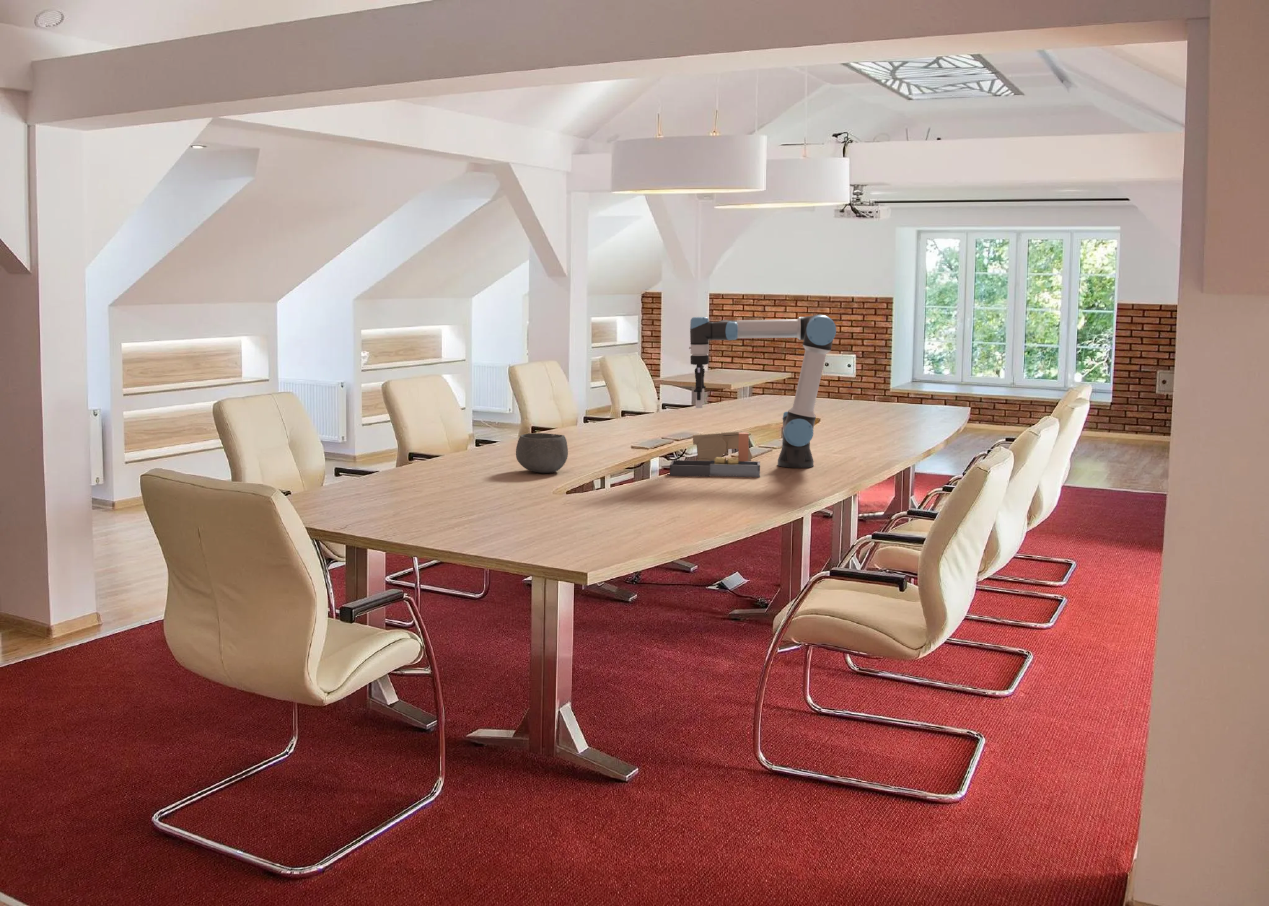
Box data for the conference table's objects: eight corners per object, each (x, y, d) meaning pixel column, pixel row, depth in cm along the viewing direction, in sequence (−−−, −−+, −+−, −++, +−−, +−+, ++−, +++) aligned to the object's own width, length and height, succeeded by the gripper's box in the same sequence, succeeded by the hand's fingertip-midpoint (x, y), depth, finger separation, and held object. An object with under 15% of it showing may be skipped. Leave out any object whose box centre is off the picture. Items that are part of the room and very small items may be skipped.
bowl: (506, 473, 490) (506, 436, 487) (532, 466, 508) (532, 430, 506) (552, 477, 481) (552, 440, 479) (577, 470, 500) (577, 434, 498)
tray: (711, 470, 501) (711, 460, 500) (709, 476, 487) (709, 466, 486) (672, 470, 502) (672, 459, 502) (669, 475, 488) (669, 465, 488)
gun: (752, 465, 516) (750, 430, 514) (752, 466, 513) (750, 431, 511) (695, 468, 519) (692, 434, 517) (695, 470, 516) (692, 435, 514)
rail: (759, 472, 497) (760, 461, 496) (759, 477, 486) (760, 465, 486) (710, 471, 499) (711, 460, 498) (709, 475, 489) (709, 464, 488)
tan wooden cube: (726, 467, 495) (726, 457, 494) (724, 468, 491) (724, 458, 490) (716, 466, 496) (716, 457, 495) (714, 468, 492) (714, 458, 491)
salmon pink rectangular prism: (747, 469, 506) (748, 432, 504) (747, 471, 500) (748, 434, 497) (738, 468, 507) (739, 431, 505) (737, 471, 500) (738, 434, 498)
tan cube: (736, 467, 494) (737, 457, 493) (738, 469, 490) (738, 459, 489) (727, 467, 494) (727, 457, 493) (728, 469, 490) (728, 459, 489)
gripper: (692, 352, 513) (692, 403, 516) (688, 356, 488) (688, 409, 491) (710, 352, 512) (710, 402, 515) (707, 356, 487) (707, 409, 490)
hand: (699, 406), depth 503 cm, fingers open, 13 cm apart
